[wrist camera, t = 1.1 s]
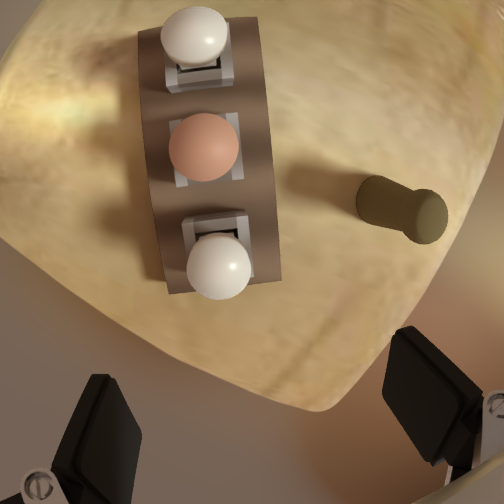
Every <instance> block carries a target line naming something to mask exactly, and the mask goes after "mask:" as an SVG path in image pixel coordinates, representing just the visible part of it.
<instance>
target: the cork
mask: <svg viewBox="0 0 504 504" xmlns="http://www.w3.org/2000/svg"><path fill="white" fill-rule="evenodd" d="M356 206H357V210H358V213H359V215H360V216H361V218H362V219H363V220H364V221H365V222H367V223H369V224H372V225H376V226H380V227H385V228H389V229H394V230H398V231H403V233H404V234H405V235H406V236H407V237H408V238H409V239H410V240H411V241H413V242H415V243H418V244H430V243H432V242H434V241H437V240H438V239H439V238H440V237H441V236H442V234H443V233H444V231H445V229H446V226H447V223H448V209H447V207H446V204H445V202H444V200H443V199H442V198H441V196H440V195H438V194H437V193H435V192H434V191H432V190H428V189H418V190H415V191H413V190H411V189H409V188H407V187H405V186H403V185H401V184H398V183H396V182H394V181H392V180H390V179H388V178H385V177H383V176H373V177H370V178H368V179H367V180H366V181H364V182H363V183H362V185H361V186H360V188H359V190H358V193H357V196H356Z"/></svg>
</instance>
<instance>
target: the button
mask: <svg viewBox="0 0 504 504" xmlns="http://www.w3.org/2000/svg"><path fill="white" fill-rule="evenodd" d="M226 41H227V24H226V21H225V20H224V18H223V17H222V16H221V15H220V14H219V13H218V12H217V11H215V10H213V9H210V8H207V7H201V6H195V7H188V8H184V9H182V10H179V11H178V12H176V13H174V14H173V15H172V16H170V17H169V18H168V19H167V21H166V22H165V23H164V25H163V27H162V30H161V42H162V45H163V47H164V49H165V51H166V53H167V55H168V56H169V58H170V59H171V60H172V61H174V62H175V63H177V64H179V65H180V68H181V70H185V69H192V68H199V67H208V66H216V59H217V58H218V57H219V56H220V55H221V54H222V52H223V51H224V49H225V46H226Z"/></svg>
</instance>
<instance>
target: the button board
mask: <svg viewBox="0 0 504 504" xmlns="http://www.w3.org/2000/svg"><path fill="white" fill-rule="evenodd" d="M224 20H225V21H226V24H227V41H226V46H225V49H224V51H223V52H222V54H221V55H220V56H219V57H218V58H217V59H216V66H208V67H199V68H192V69H185V70H181V68H180V65H179V64H177V63H175V62H174V61H172V60H171V59H170V58H169V56H168V55H167V53H166V51H165V49H164V47H163V45H162V42H161V30H162V27H163V26H162V27H157V28H152V29H147V30H143V31H138V66H139V88H140V104H141V117H142V129H143V139H144V148H145V157H146V166H147V174H148V181H149V188H150V195H151V202H152V208H153V215H154V221H155V227H156V232H157V238H158V243H159V249H160V254H161V259H162V264H163V269H164V274H165V279H166V283H167V288H168V292H169V294H177V293H186V292H195V291H196V290H195V289H194V288H193V287H192V286H191V284H190V282H189V280H188V276H187V262H188V259H189V255H190V252H191V249H192V247H193V246H194V244H195V243H196V242H197V241H198V240H199V237H201V236H206V235H208V234H211V233H234V237H236V238H237V239H238V240H239V241H241V243H242V244H243V245H244V247H245V248H246V251H247V254H248V257H249V260H250V264H251V275H250V279H249V281H248V283H247V285H252V284H260V283H267V282H274V281H282V278H281V262H280V247H279V233H278V219H277V206H276V193H275V181H274V169H273V158H272V147H271V136H270V126H269V116H268V106H267V96H266V87H265V78H264V69H263V60H262V52H261V44H260V35H259V27H258V20H257V17H236V18H224ZM200 113H210V114H214V115H217V116H220V117H222V118H223V119H225V120H226V121H227V122H228V123H230V125H231V126H232V127H233V129H234V130H235V132H236V134H237V138H238V143H239V149H238V155H237V158H236V161H235V162H234V164H233V166H232V167H231V168H230V170H229V171H228V172H226V173H225V174H224V175H222V176H221V177H219V178H217V179H214V180H211V181H194V180H191V179H189V178H186V177H185V176H183V175H182V174H180V173H179V172H178V171H177V170H176V168H175V167H174V165H173V164H172V162H171V159H170V155H169V141H170V138H171V135H172V133H173V131H174V129H175V128H176V127H177V126H178V124H179V123H181V122H182V121H183V120H184V119H186V118H188V117H190V116H192V115H195V114H200Z"/></svg>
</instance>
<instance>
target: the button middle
mask: <svg viewBox="0 0 504 504" xmlns="http://www.w3.org/2000/svg"><path fill="white" fill-rule="evenodd" d="M238 149H239V143H238V138H237V134H236V132H235V130H234V129H233V127H232V126H231V125H230V123H228V122H227V121H226V120H225V119H223V118H222V117H220V116H217V115H214V114H210V113H200V114H195V115H192V116H190V117H188V118H186V119H184V120H183V121H182V122H181V123H179V124H178V126H177V127H176V128H175V129H174V131H173V133H172V135H171V138H170V141H169V155H170V159H171V162H172V164H173V165H174V167H175V168H176V170H177V171H178V172H179V173H180V174H182V175H183V176H185V177H186V178H189V179H191V180H194V181H211V180H214V179H217V178H219V177H221V176H222V175H224V174H225V173H226V172H228V171H229V170H230V168H231V167H232V166H233V164H234V162H235V161H236V158H237V155H238Z"/></svg>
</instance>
